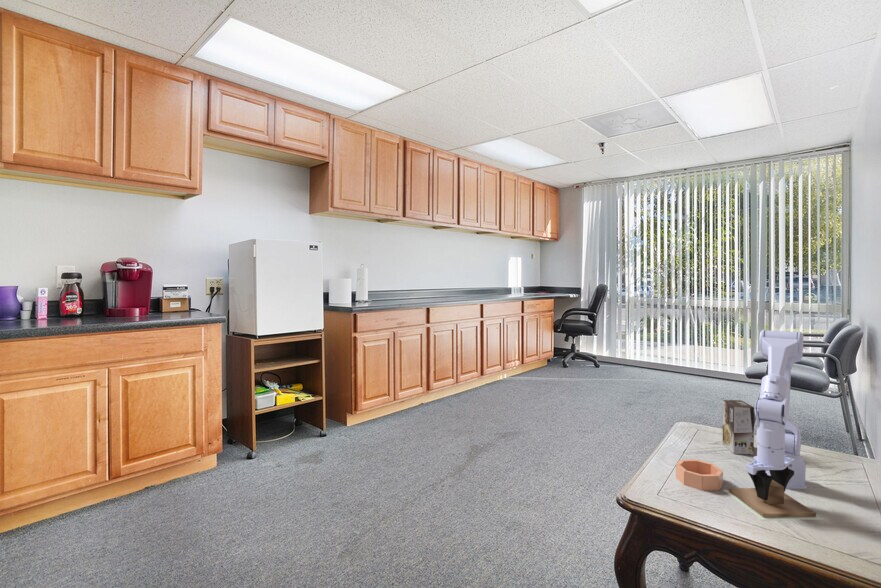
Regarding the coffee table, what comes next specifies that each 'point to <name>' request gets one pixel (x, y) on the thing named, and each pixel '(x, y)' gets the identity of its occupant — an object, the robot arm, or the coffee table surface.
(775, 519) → the mat
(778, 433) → the robot arm
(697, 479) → the bowl
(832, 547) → the coffee table surface
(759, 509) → the lid
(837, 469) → the coffee table surface
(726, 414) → the coffee box
